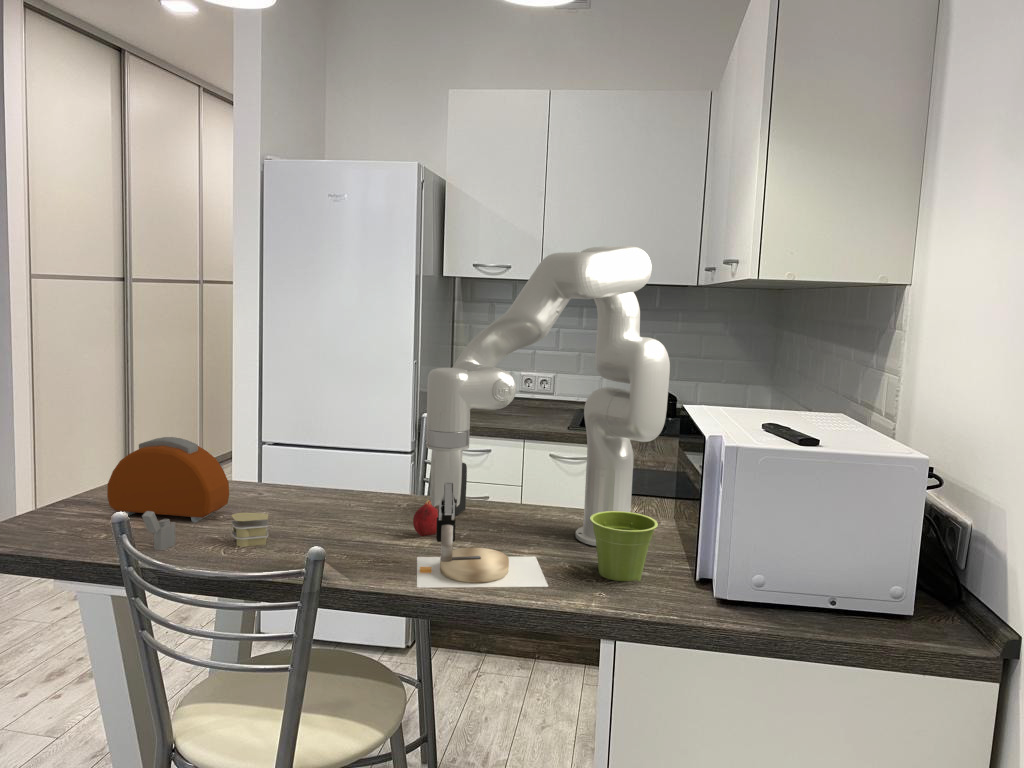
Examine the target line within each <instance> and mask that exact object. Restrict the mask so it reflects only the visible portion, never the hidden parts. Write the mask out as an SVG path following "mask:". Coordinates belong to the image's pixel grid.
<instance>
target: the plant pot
mask: <svg viewBox="0 0 1024 768" xmlns="http://www.w3.org/2000/svg"><path fill="white" fill-rule="evenodd" d="M590 520H591V522H592V523H593V528H594V534H595V537H596V546H595V547H596V554H597V555H596V556H597V557H596V558H597V567H598V574H599V575H600V576H601V577H603V578H605V579H608V580H610V581H611V580H612V581H616V582H617V581H618V582H634V581H637V582H641V581H642V580H641V579H642V576H643V571H644V568H645V567H644V566H645V564H646V559H647V555H648V551H649V546H650V542H651V540H653V536H654V535H653V534H654V531H655V529H657V528H658V526H659V525H658V524H659V523H658V521H657V520H655V519H654V518H652V517H650V516H648V515H644V514H641V513H637V512H632V511H630V512H623V511H605V512H599V513H595V514H593V515H592V516H591V517H590Z"/></svg>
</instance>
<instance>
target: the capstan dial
mask: <svg viewBox="0 0 1024 768" xmlns="http://www.w3.org/2000/svg"><path fill="white" fill-rule="evenodd" d="M440 557H441V558H440V571H441V573H442V574H443V575H445V576H446V577H448V578H451V579H454V580H458V581H465V582H488V581H494V580H497V579H500V578H503V577H504V576H506V575H507V574H508V571H509V558H508V557H509V556H508V555H506V554H505V553H503V552H502V551H499V550H495V549H492V548H486V547H460V548H455V549H453V526H452V525H442V528H441V542H440Z"/></svg>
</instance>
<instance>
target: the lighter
mask: <svg viewBox="0 0 1024 768" xmlns="http://www.w3.org/2000/svg"><path fill="white" fill-rule="evenodd" d="M156 515H157V514H155V513H154V512H152V511H146V512H145V513H142V515H141V517H142V520H143V522H144V525H145V527H146V529H147V532H148V533H150V534H151V533H152V534H153V551H160V552H161V551H165V550H167V549H169V548H171V547H173V546H175V545H176V544H177V543H176V522H175V521H174V522H172V521H170V519H169V518H163V519H160V520H158V519H157V516H156Z"/></svg>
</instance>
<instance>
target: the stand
mask: <svg viewBox="0 0 1024 768" xmlns="http://www.w3.org/2000/svg"><path fill="white" fill-rule="evenodd" d="M507 557H508V558H509V571H508V574H507V575H506V576H504V577H503V578H500V579H497V580H494V581H488V582H465V581H458V580H454V579H451V578H448V577H446V576H445V575H443V574H442V573H441V571H440V558H441V556H417V557H416V588H418V589H419V588H420V589H425V588H428V589H433V588H434V589H435V588H437V589H438V588H442V589H443V588H445V589H446V588H452V589H453V588H547V587H549V584H548V581H547V579H546V577H545V575H544V572H543V570H542V568H541V566H540V563H539V562H538V559H537V556H507Z"/></svg>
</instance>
